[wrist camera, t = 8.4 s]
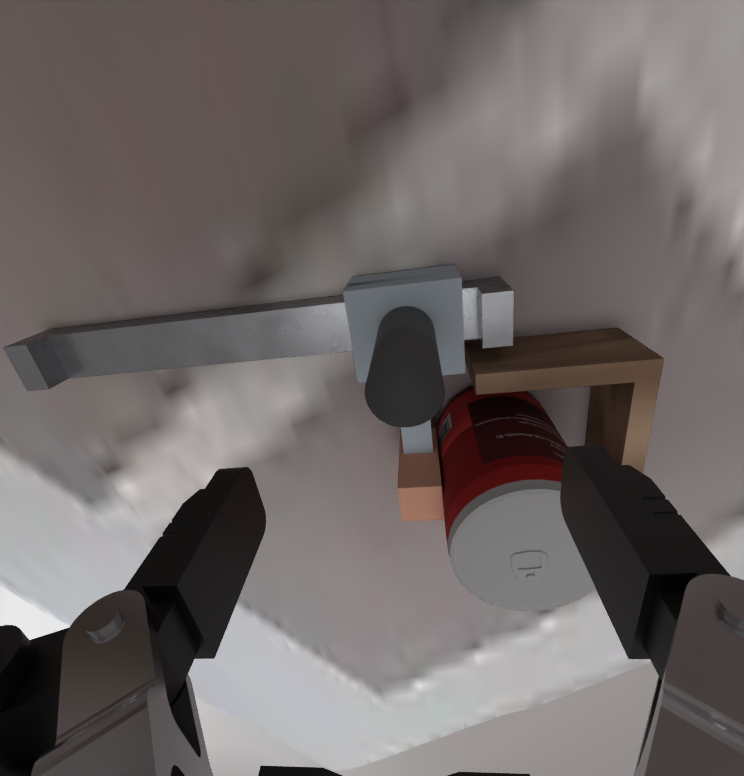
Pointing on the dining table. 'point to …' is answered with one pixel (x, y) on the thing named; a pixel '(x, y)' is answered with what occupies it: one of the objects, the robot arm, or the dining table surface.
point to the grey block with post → (409, 366)
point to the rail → (229, 336)
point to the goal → (582, 381)
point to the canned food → (507, 503)
